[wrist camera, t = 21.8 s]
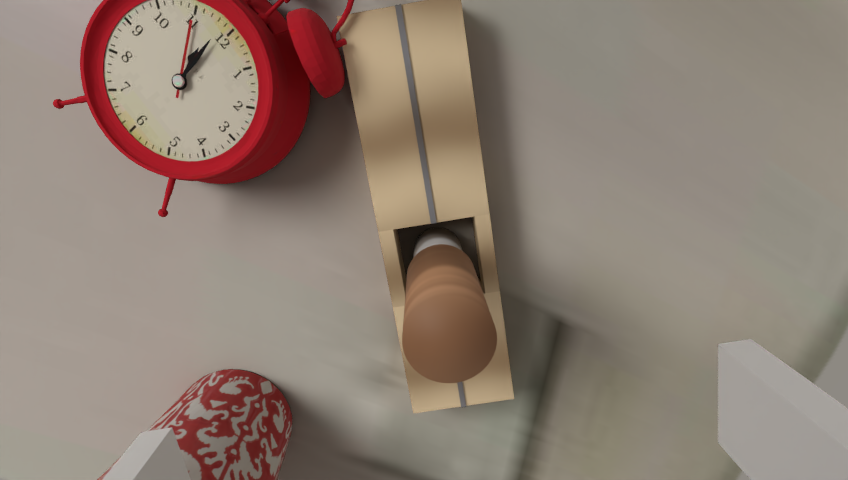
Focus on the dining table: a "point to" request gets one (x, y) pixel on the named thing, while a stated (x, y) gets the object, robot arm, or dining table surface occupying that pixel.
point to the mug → (230, 427)
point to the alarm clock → (206, 83)
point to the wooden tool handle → (445, 312)
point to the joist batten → (424, 160)
